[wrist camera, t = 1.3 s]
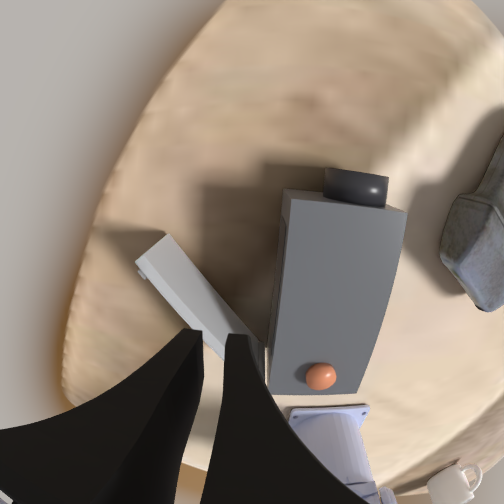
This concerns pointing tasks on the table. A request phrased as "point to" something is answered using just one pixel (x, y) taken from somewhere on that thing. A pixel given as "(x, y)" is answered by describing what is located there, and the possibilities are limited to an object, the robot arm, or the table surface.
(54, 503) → the robot arm
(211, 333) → the side door
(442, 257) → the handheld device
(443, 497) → the mug
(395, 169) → the table surface
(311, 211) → the camera body
